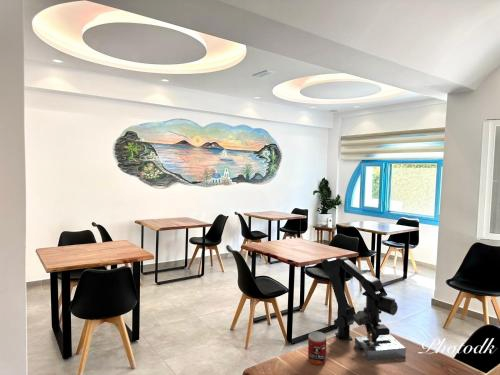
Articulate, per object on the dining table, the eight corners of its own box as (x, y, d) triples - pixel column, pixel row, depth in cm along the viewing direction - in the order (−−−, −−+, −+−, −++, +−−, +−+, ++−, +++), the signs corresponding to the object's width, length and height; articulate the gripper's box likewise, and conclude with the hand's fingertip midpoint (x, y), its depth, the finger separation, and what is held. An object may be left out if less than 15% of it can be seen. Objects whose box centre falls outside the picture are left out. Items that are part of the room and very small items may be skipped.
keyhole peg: (365, 349, 150) (365, 331, 149) (373, 348, 150) (373, 330, 150) (369, 353, 146) (370, 335, 145) (377, 353, 146) (378, 334, 146)
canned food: (307, 364, 138) (307, 339, 137) (308, 353, 146) (308, 330, 145) (325, 367, 136) (326, 341, 136) (326, 356, 144) (326, 332, 143)
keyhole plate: (354, 345, 153) (355, 336, 153) (390, 342, 156) (390, 334, 155) (367, 360, 141) (367, 350, 141) (405, 356, 144) (405, 347, 144)
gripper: (346, 299, 155) (346, 331, 156) (366, 317, 136) (365, 353, 137) (368, 298, 156) (367, 329, 157) (390, 315, 138) (389, 351, 139)
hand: (371, 340), depth 148 cm, fingers closed on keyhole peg, 3 cm apart
